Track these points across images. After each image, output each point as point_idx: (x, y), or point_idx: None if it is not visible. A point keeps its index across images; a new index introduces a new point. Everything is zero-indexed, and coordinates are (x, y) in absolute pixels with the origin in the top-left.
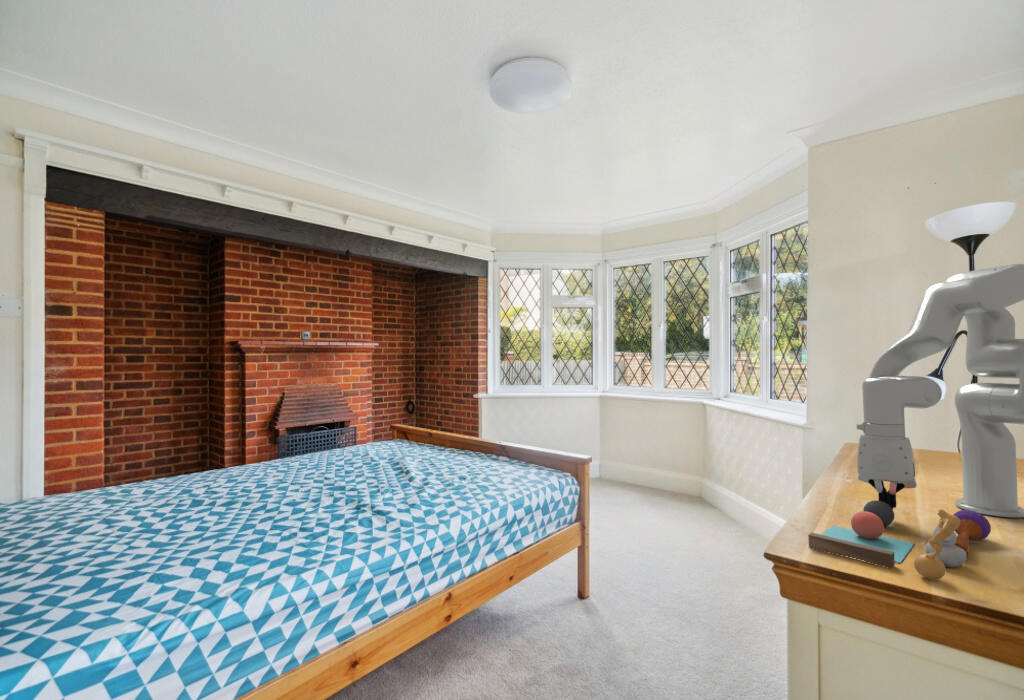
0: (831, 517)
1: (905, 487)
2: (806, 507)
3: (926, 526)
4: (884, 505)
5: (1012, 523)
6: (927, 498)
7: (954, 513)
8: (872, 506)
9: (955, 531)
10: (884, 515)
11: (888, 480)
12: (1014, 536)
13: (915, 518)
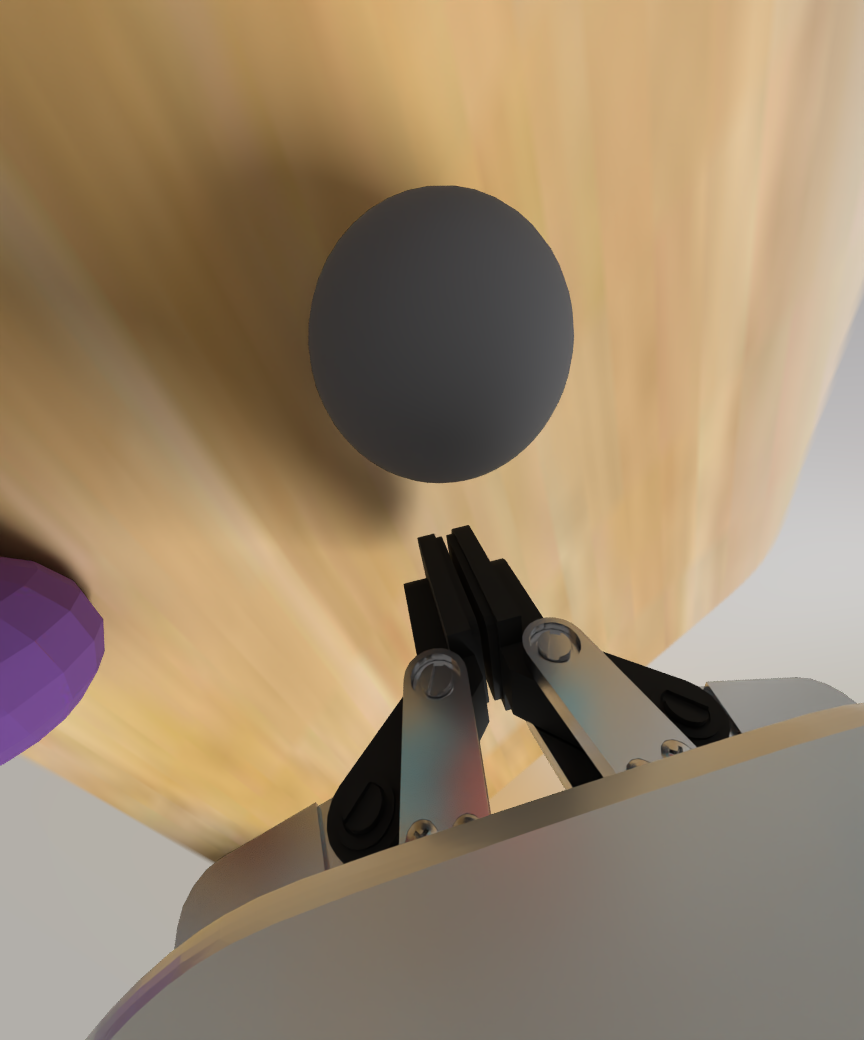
0: (705, 245)
1: (322, 816)
2: (831, 364)
3: (276, 594)
4: (379, 320)
5: (185, 841)
6: None
7: (3, 711)
8: (490, 220)
9: (62, 580)
10: (344, 234)
11: (505, 835)
12: (33, 759)
13: (375, 660)
